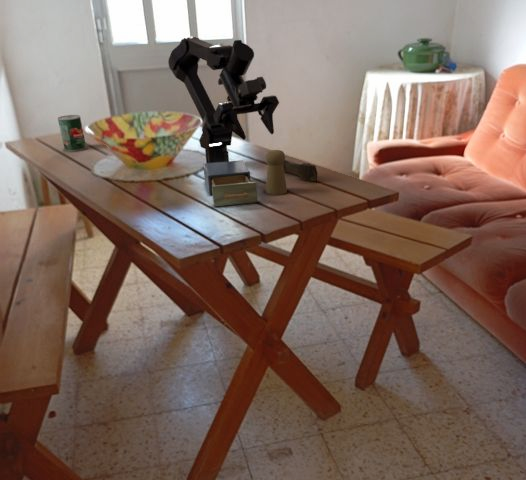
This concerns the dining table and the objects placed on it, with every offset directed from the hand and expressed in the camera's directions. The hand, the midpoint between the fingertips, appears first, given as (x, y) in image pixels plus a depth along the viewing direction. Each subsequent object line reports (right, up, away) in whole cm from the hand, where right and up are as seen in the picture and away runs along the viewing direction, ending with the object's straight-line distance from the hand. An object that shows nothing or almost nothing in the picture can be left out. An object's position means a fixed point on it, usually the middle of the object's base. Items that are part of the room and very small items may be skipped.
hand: (259, 136), depth 154 cm
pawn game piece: (+5, -15, +2) cm, 16 cm away
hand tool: (+11, -7, +14) cm, 19 cm away
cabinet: (-9, -12, +7) cm, 17 cm away
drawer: (-7, -18, -3) cm, 20 cm away
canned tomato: (-68, +15, +53) cm, 88 cm away
